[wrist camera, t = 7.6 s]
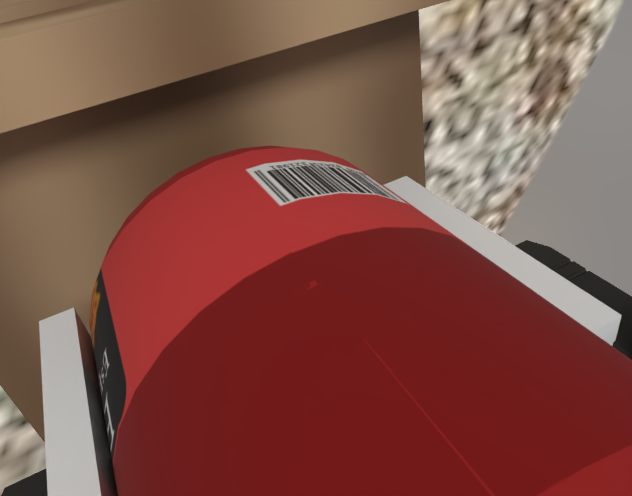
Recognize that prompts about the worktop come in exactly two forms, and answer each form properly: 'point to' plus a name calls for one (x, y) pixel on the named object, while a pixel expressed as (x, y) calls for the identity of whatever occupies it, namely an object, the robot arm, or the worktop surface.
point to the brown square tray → (173, 124)
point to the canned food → (338, 348)
